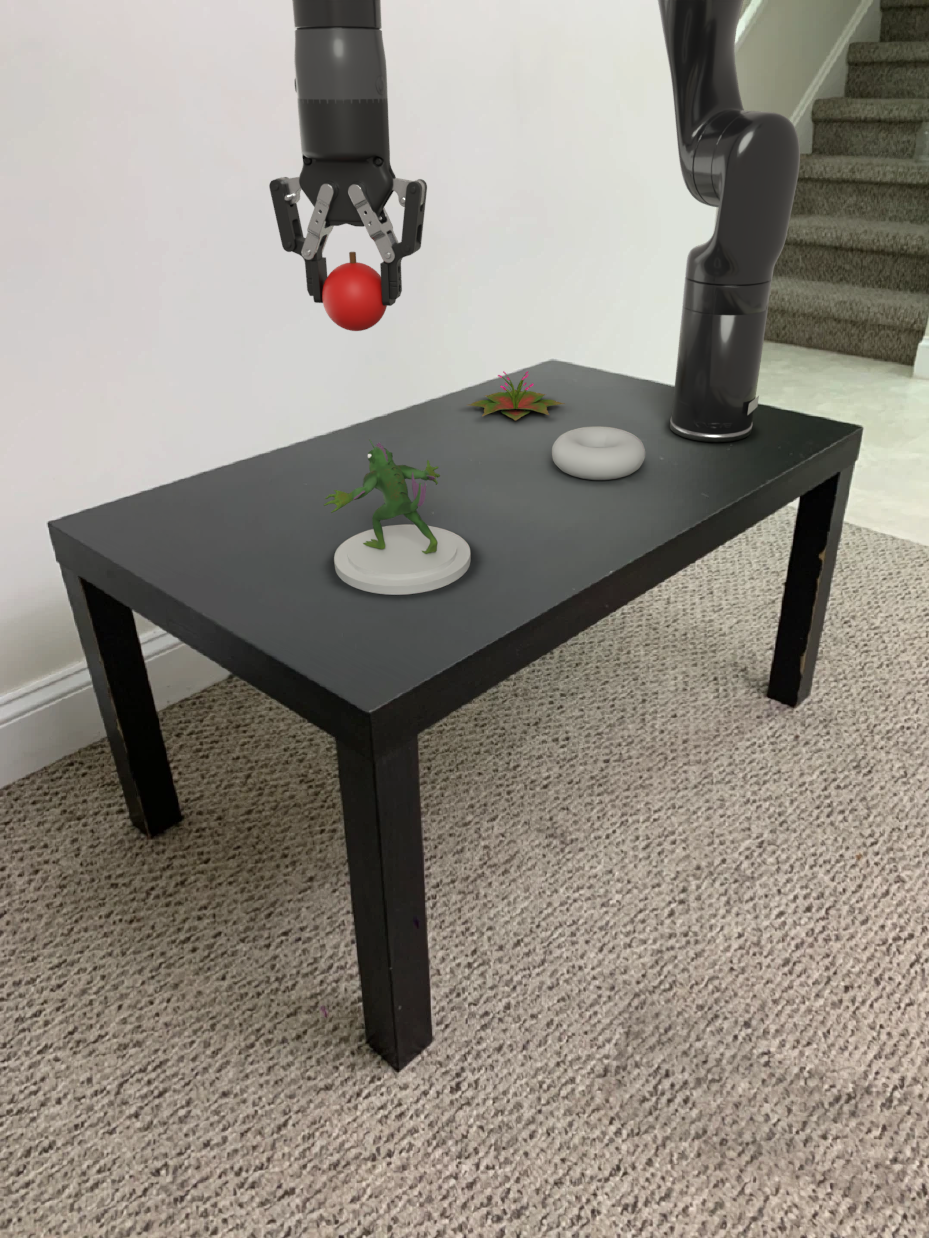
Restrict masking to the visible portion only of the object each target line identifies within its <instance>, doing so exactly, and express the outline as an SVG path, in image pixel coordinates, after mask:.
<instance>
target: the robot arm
mask: <svg viewBox="0 0 929 1238" xmlns="http://www.w3.org/2000/svg"><path fill="white" fill-rule="evenodd" d="M744 1H745V0H657V5H658V11H659V15H660V21H661V27H662V34H663V38H664V45H665V50H666V56H667V61H668V66H669V67H668V68H669V73H670V80H671V88H672V97H673V98H672V99H673V109H674V118H675V128H676V129H675V131H676V141H677V142H676V143H677V152H678V161H679V167H680V171H681V177H682V180H683V182H684V183H683V184H684V186H685V187H686V189H687V191H688V192H689V194H690V195H691V196H692V198H694V199H695V200H696V201H697V202H699V203H701V204H703V205H705V206H708V207H712V208H718V210H717V215H716V221H715V225H714V226H715V227H714V231H713V233H712V235H711V236H710V238H709V239H708V240H706V242H703V243H701V244H698V245H696V246H693V247H692V248H691V249H690V250H689V252H688V254H687V258H686V264H685V265H686V266H685V275H684V283H683V284H684V285H683V294H682V307H681V318H680V327H679V338H678V347H677V357H676V358H677V359H676V369H675V379H674V391H673V397H672V398H673V399H672V409H671V410H672V411H671V417H670V422H669V429H670V430H671V432H672V433H674V434H676V435H677V436H680V437H682V438H686V439H688V440H693V441H698V442H709V443H728V442H733V441H734V442H735V441H739V440H743V439H745V438H747V437H749V436H750V435H751V434H752V431H753V425H754V424H753V423H754V422H753V418H754V411H755V410H756V409H757V408H758V406H759V398H760V395H758V396H757V392H758V391H757V390H758V382H759V376H760V369H761V362H762V356H763V348H764V340H765V333H766V326H767V320H768V312H769V303H770V297H771V291H772V290H771V289H772V282H773V276H774V270H775V266H776V263H777V261H778V260H779V257H780V256H781V254H782V251H783V249H784V246H785V243H786V240H787V237H788V236H787V235H788V230H789V225H790V220H791V216H792V211H793V207H794V200H795V195H796V190H797V185H798V179H799V174H800V173H799V172H800V164H801V161H800V160H801V147H800V145H801V144H800V139H799V135H798V131H797V129H796V126H795V125H794V124H793V122H792V121H791V119H789V118H788V117H787V116H786V115H783V114H781V113H777V112H774V111H773V112H772V111H761V110H745V108H744V104H743V101H742V96H741V93H740V92H741V91H740V88H739V81H738V72H737V67H736V55H735V54H736V51H735V50H736V49H735V48H736V47H735V46H736V45H735V44H736V36H737V29H738V24H739V19H740V15H741V12H742V8H743V4H744ZM291 2H292V12H293V15H292V16H293V27H294V29H295V30H294V56H293V57H294V59H293V60H294V61H293V62H294V63H293V64H294V91H295V93H296V102H297V113H298V114H297V115H298V128H299V137H300V138H299V139H300V150H301V157H302V166H301V167H302V168H301V171H300V173H299V176H294V177H287V176H283V177H282V176H281V177H279V178H278V177H277V178H275V179H272V180H270V182H269V185H268V186H269V193H270V197H271V202H272V205H273V210H274V214H275V219H276V223H277V228H278V229H277V230H278V233H279V237H280V242H281V246H282V249H283V250H284V251H285V252H287V253H293V254H296V255H299V256H300V257H301V258H302V259H303V261H304V267H305V278H306V291H307V293H308V295H309V296H310V297H313V298H312V299H313V302H314V304H323V300H322V292H323V286H324V283H325V280H326V279H327V277H328V267H327V257H325V256H323V253H324V250H325V247H326V244H327V242H328V239H329V236H330V234H331V233H332V231H333V230H334V227H340V226H343V225H349V226H352V227H360V228H361V227H362V228H363V227H365V230H366V233H367V234H368V236H369V238H370V239H371V240H372V241H373V242H374V244H375V247H376V248H377V251H378V253H379V255H380V257H381V259H382V262H381V263H380V265H379V266H380V267H379V268H380V276H381V290H382V304H383V306H387V307H391V306H393V305H394V304H395V303H396V301H397V299H398V298H400V297H401V294H402V292H403V281H402V260H403V258H406V257H408V256H412V255H413V254H415V253H417V252H418V251H419V250H420V249H421V247H422V241H423V231H424V220H425V211H426V202H427V193H428V184H427V182H426V181H425V180H424V179H422V178H418V179H415V180H409V179H406V178H398V177H396V174H395V172H394V171H393V169H392V164H391V149H390V148H391V147H390V125H389V123H390V121H389V120H390V119H389V98H388V97H389V96H388V73H387V72H388V70H387V59H386V51H385V46H384V40H383V39H384V38H383V30H381V29H382V5H381V4H382V3H381V0H292V1H291ZM301 191H302V192H303V194H304V195H305V196H306V198H307V199H308V201H309V202H310V204H311V205H312V206H313V211H312V213H311V217H310V220H309V223H308V225H307V229H306V231H307V233H306V236H305V237H304V233H303V227H302V221H301V218H300V213H299V210H298V204H297V203H299V202H300V199H301ZM394 192H395V193H396V194H397V198H398V203H399V205H400V206H401V207H404V209H403V218H402V219H403V220H402V229H401V240H400V241H399V240H398V238H397V236H396V233H395V231H394V226H393V223H392V221H391V219H390V217H389V215H388V212H387V210H386V207H385V206H386V205H387V203H388V201H389V200H390V199H391V196H392V195H393V193H394Z"/></svg>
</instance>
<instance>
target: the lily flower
mask: <svg viewBox="0 0 929 1238" xmlns="http://www.w3.org/2000/svg"><path fill="white" fill-rule="evenodd" d="M502 373H503V374H504V375H505V376H506V378H505V377H504V376H502V375H501V374H497V377H499V378H501V379H503V380H504V381H505V382H504V385H505V386H506V387H508V388H509V389H508V388H506V387H505V386H503V385H500V388H501V389H502V390H504V391H498V392H494V393H491V394H486V395H484V397H486V398H487V399H480V400H477V401H474V402H472V403H470V404H467V406H470V407H477V408H478V407H479V408H484V409H483V414H482V415H481V417H484V416H487V415H489V414H491V413H495V412H497V411H500V410H501V413H502V414H503V415H505V416H507V417H508V418H511V419H512V420H514V421H517V420H519V419H521V417H524V416H525V415H528V414H529V413H530V412H531V411H534V412H537V413H541V414H545V415H546V416H550V413H549V411H548V407H551V406H559V405H566V403H565V402H560V401H556V400H555V399H549V398H545V399H543V398H544V396H547V394H546V393H541V392H536V391H532V390H529V389H530V388H532V387H533V386H534V385H535V384H534V383H533V382H532V383H530V384H529V385H528V386H527V387H525V386H526V385H527V384H528V383H527V382H524V381H525V379H527V378H528V377H529V375H530V374H529V370H527V371H526V372H525V373H524V375H523V376H522V378H521V379H520V381H519V382H518V385H517V388H515V387H514V384H513V382H512V380H511V379H510V377H509V376H508V374H507V373H506V372H505V370H503V371H502ZM523 387H525V388H524V390H522V389H523ZM521 390H522V391H521ZM527 390H528V391H527Z"/></svg>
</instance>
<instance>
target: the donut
mask: <svg viewBox="0 0 929 1238" xmlns="http://www.w3.org/2000/svg"><path fill="white" fill-rule="evenodd" d="M551 455H552V461H553V462H554V465H555V466H556V467H558V468H559V470H560V471H561V472H563V473H565V474H567V475H569V476H572V477H575V478H578V479H579V478H580V479H582V480H592V481H608V480H610V481H611V480H617V479H621V478H624V477H627V476H630V475H631V474H633V473H635V472H636V471H637V470H639V469H640V468H641V466H642V465H643V463H644V461H645V458H646V449H645V446H644V443H643V442H642V440H641V439H640V438H639V437H637V436H636V435H635V434H634V433H631V432H629V431H626V430H624V429H621V428H616V427H612V426H610V427H609V426H602V425H601V426H583V427H578V428H574V429H571V430H570V429H569V430H568V431H565V432H564V433H562V434H561V435H559V436H558V437H557V438H556V439H555V441H554V442H553V444H552V447H551Z"/></svg>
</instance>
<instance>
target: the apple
mask: <svg viewBox="0 0 929 1238" xmlns="http://www.w3.org/2000/svg"><path fill="white" fill-rule="evenodd" d="M348 256H349V257H348V258H349V262H345V263H343V264H342V263H341V264H340V265H338V266H336V267H335V268H334V269H332V271H331V272H330V273H329V274H327V279H326V280H325V283H324V286H323V292H322V300H323V303H322V304H323V305H322V306H323V308H324V310H325V313H326V315H327V316H328V317H329V319H330V320H331V321H332V322H333V323H334V324H335V325H336V326H338V327H340V328H341V329H344V330H347V331H351V332H361V331H366V330H369V329H371V328H373V327H374V326H376V325H377V324H378V323H379V322H380V321H381V320H382V318H383V317H384V315H385V312H386V310H387V307H388V306H383V304H382V290H381V274H379V272H378V271H377V270H376V269H374V268H373V267H371V266H369V265H368V264H366V263H362V262H357V252H356V251H349V252H348Z"/></svg>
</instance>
